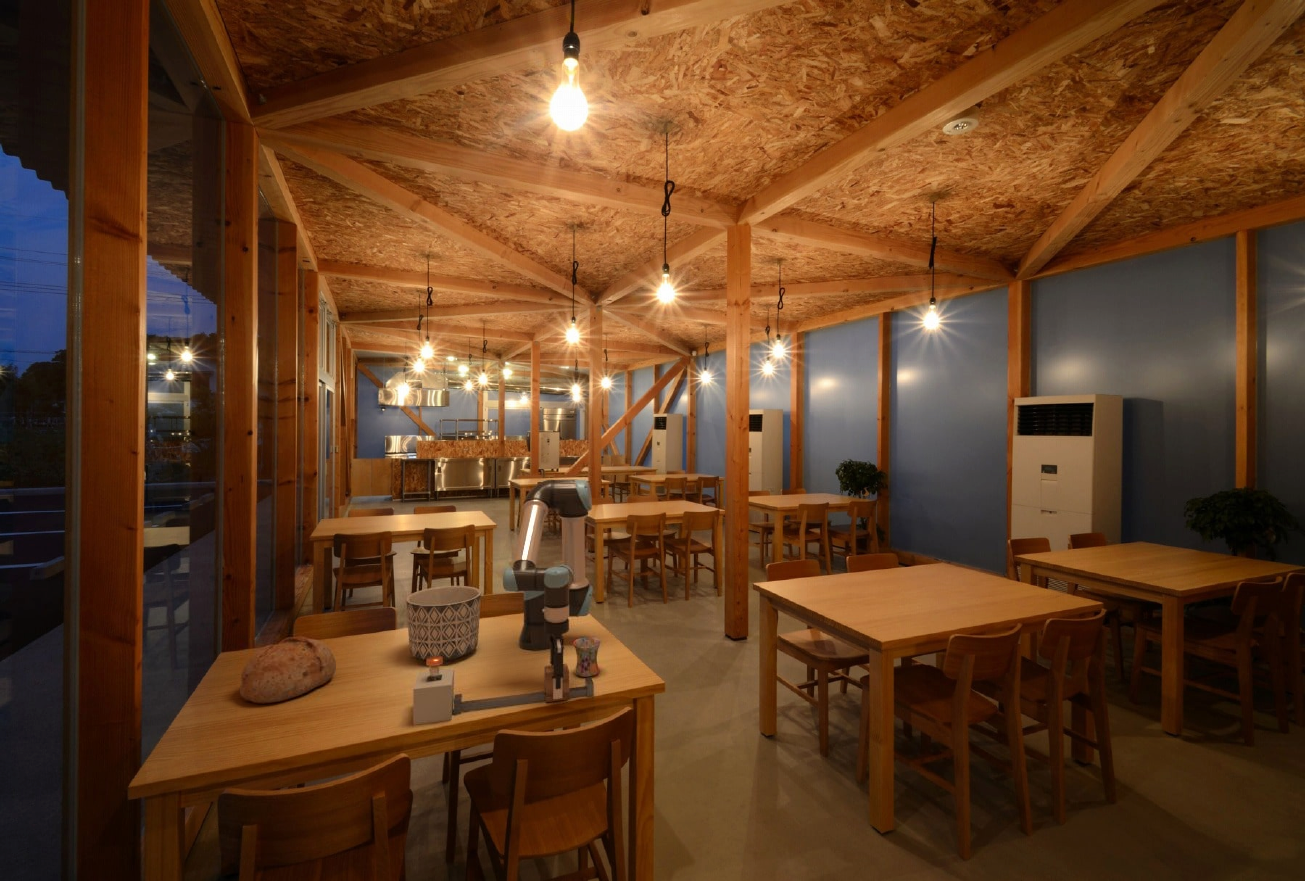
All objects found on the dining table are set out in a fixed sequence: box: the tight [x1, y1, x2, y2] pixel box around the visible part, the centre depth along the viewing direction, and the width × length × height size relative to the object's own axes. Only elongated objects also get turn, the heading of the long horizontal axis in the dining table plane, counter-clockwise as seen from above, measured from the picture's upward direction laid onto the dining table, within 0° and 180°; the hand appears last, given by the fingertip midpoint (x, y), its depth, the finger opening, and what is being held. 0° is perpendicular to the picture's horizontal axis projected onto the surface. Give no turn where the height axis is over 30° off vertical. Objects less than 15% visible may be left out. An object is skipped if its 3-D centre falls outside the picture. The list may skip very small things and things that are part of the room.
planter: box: [405, 585, 482, 662], centre depth 205 cm, size 26×26×22 cm
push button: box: [425, 656, 444, 681], centre depth 162 cm, size 4×4×6 cm
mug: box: [572, 636, 601, 678], centre depth 190 cm, size 12×9×11 cm
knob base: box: [412, 667, 455, 726], centre depth 162 cm, size 12×10×10 cm
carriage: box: [543, 663, 570, 703], centre depth 171 cm, size 5×7×9 cm
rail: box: [453, 677, 595, 715], centre depth 168 cm, size 4×41×4 cm, turn 107°
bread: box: [239, 636, 337, 704], centre depth 178 cm, size 26×23×15 cm
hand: (556, 693), depth 171 cm, fingers closed on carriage, 5 cm apart
